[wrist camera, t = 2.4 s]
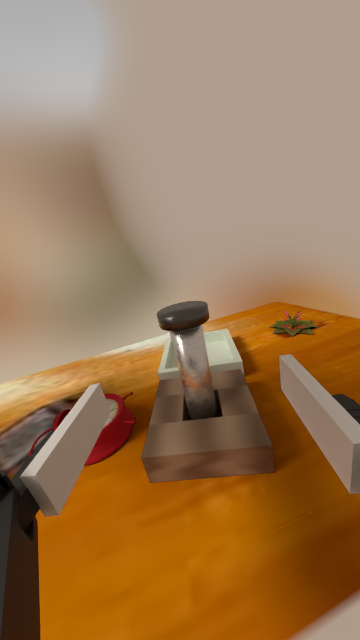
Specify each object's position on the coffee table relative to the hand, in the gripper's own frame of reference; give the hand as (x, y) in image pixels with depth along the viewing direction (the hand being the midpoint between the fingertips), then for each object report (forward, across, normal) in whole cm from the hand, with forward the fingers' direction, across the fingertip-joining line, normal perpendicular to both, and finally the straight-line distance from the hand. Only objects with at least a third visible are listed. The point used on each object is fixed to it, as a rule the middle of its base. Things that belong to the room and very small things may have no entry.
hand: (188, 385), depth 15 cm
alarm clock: (+11, -19, -15) cm, 26 cm away
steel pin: (+10, 0, -15) cm, 18 cm away
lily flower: (+39, +24, -16) cm, 48 cm away
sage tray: (+28, 0, -15) cm, 32 cm away
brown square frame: (+10, 0, -15) cm, 18 cm away
